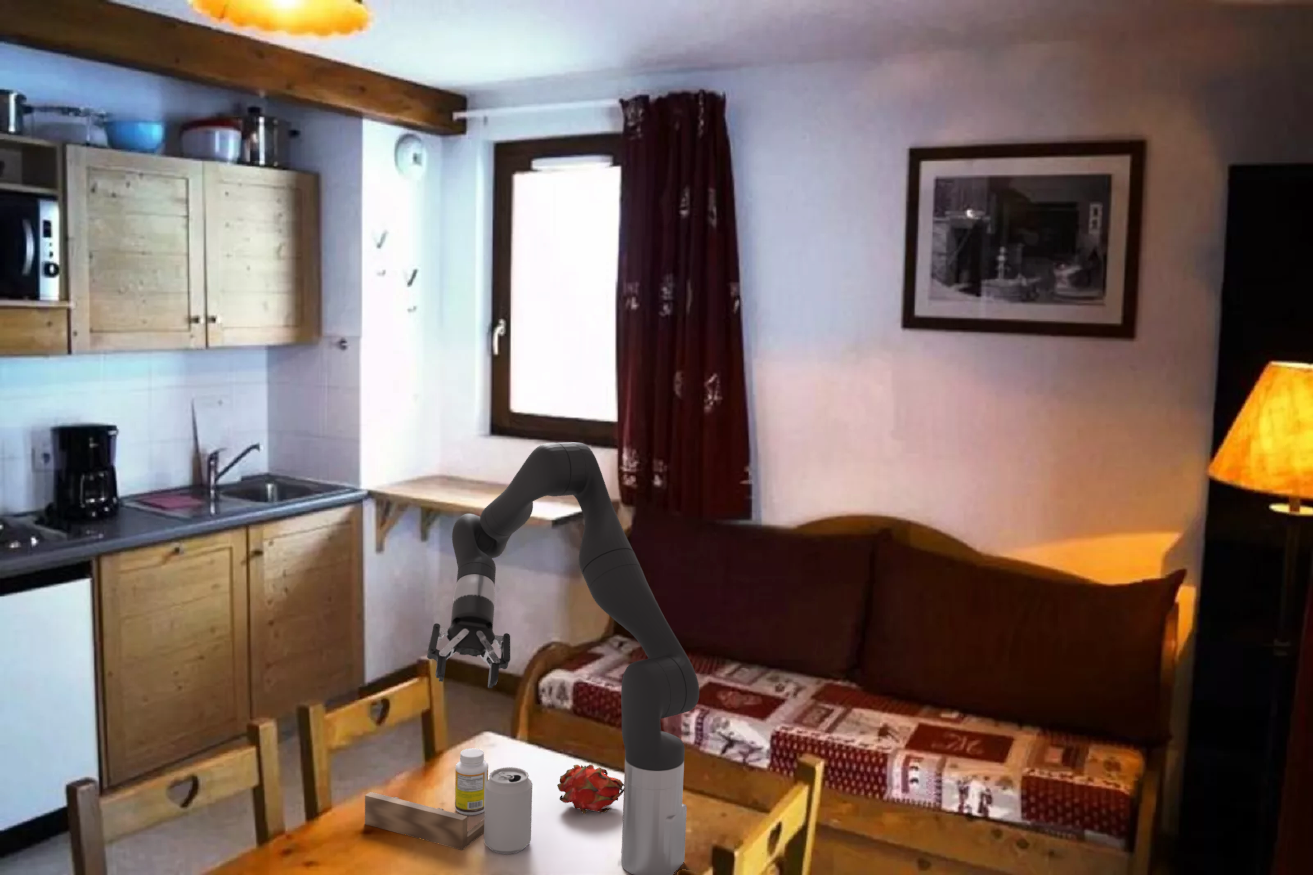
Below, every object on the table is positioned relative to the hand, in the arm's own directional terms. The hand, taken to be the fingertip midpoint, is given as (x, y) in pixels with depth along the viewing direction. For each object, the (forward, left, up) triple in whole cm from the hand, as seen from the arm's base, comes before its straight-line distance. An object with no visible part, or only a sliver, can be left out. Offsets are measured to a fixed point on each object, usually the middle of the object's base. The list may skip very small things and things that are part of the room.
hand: (466, 682), depth 189 cm
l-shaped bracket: (+1, +9, -22) cm, 24 cm away
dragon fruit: (-20, -9, -22) cm, 31 cm away
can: (-14, +9, -22) cm, 28 cm away
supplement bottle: (-2, +1, -22) cm, 22 cm away
